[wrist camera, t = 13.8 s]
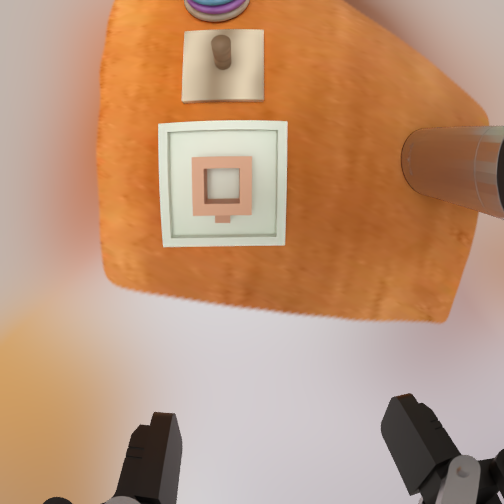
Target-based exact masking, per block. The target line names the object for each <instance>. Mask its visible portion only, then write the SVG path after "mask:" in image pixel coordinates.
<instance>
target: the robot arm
mask: <svg viewBox="0 0 504 504" xmlns="http://www.w3.org/2000/svg"><path fill="white" fill-rule="evenodd" d="M401 159H402V169H403V173H404V175H405V178H406V180H407V182H408V183H409V185H410V186H411V187H412V188H413V189H414V190H415V191H417V192H418V193H420V194H423V195H426V196H430V197H433V198H437V199H440V200H443V201H447V202H450V203H453V204H457V205H460V206H463V207H466V208H470V209H473V210H476V211H479V212H482V213H485V214H488V215H491V216H494V217H497V218H500V219H503V220H504V126H464V127H440V128H425V129H419V130H416V131H415V132H413V133H412V134H411V135H410V136H409V137H408V138H407V140H406V142H405V144H404V147H403V150H402V157H401ZM381 433H382V436H383V438H384V440H385V442H386V444H387V447H388V449H389V451H390V453H391V455H392V457H393V459H394V462H395V464H396V466H397V468H398V470H399V472H400V475H401V477H402V479H403V481H404V483H405V485H406V488H407V490H408V492H409V494H410V496H411V495H414V494H417V493H419V492H420V493H421V495H422V497H421V498H420V500H419V503H418V504H502V503H501V501H500V499H499V497H498V495H497V493H498V492H499V491H500V492H501V494H502V496H503V498H504V449H503V450H501V451H500V452H499V453H498V455H497V456H496V457H495V458H492V459H486V460H480V461H477V460H476V459H475V458H473V457H471V456H468V455H461V453H460V452H459V451H458V449H457V447H456V446H455V444H454V443H453V442H452V440H451V438H450V436H448V433H447V432H446V430H445V429H444V428H443V427H442V424H441V423H440V421H438V418H437V417H436V415H435V414H434V412H433V411H432V410H431V409H430V408H429V407H427V406H426V405H425V404H423V403H418V402H417V401H416V399H415V397H414V396H413V395H412V394H410V393H408V394H404V395H400V396H396V397H393V398H391V400H390V402H389V405H388V407H387V410H386V412H385V415H384V417H383V420H382V422H381ZM128 447H129V448H128V449H127V452H126V458H125V460H124V463H123V467H122V471H121V474H120V478H119V482H118V486H117V490H116V492H115V494H114V496H113V497H112V498H111V499H109V500H108V501H107V502H105V503H102V504H176V500H177V491H178V482H179V473H180V465H181V456H182V438H181V434H180V430H179V426H178V423H177V418H176V415H175V414H174V413H161V412H154V413H153V416H152V419H151V423H150V426H149V425H139V427H138V428H137V429H136V430H135V431H134V432H133V433H132V435H131V439H130V442H129V446H128ZM43 504H72V503H71V502H70V501H69V500H67V499H64V498H60V497H53V498H50V499H48V500H46V501H45V502H44V503H43Z"/></svg>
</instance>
